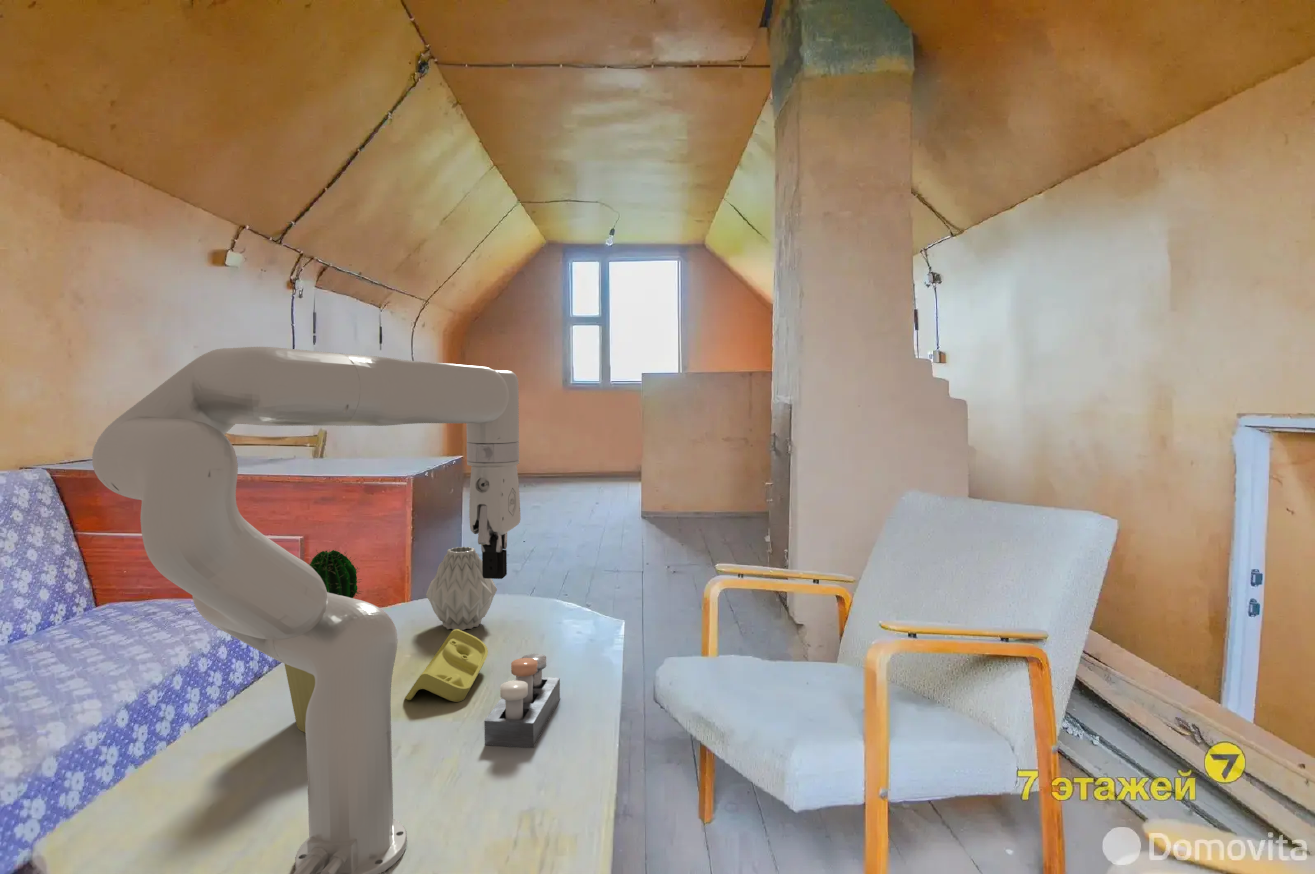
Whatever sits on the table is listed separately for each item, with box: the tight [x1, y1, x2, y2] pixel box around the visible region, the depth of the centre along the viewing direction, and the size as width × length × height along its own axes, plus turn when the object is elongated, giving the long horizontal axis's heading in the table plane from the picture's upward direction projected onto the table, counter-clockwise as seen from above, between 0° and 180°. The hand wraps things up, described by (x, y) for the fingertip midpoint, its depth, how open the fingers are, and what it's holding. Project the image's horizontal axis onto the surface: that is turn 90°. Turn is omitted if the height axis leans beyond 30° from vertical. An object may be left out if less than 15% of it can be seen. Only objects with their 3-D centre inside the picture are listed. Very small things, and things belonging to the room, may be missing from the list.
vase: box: [425, 546, 498, 631], centre depth 173 cm, size 16×16×18 cm
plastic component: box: [404, 629, 489, 703], centre depth 141 cm, size 20×7×10 cm
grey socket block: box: [483, 676, 561, 749], centre depth 124 cm, size 18×8×4 cm, turn 174°
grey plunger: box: [521, 653, 547, 689], centre depth 130 cm, size 4×4×8 cm
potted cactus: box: [284, 549, 363, 734], centre depth 124 cm, size 15×15×30 cm
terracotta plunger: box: [510, 657, 537, 704], centre depth 124 cm, size 4×4×8 cm
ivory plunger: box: [499, 679, 528, 720], centre depth 118 cm, size 4×4×8 cm
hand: (494, 576), depth 108 cm, fingers closed
